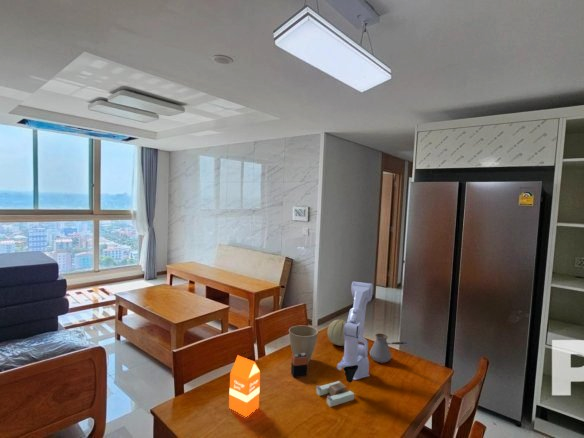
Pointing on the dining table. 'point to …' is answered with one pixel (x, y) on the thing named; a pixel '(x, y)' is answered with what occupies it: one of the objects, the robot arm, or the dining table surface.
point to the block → (337, 389)
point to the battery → (299, 365)
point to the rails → (335, 398)
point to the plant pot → (303, 340)
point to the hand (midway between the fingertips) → (349, 381)
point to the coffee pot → (382, 348)
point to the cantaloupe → (337, 332)
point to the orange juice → (244, 386)
